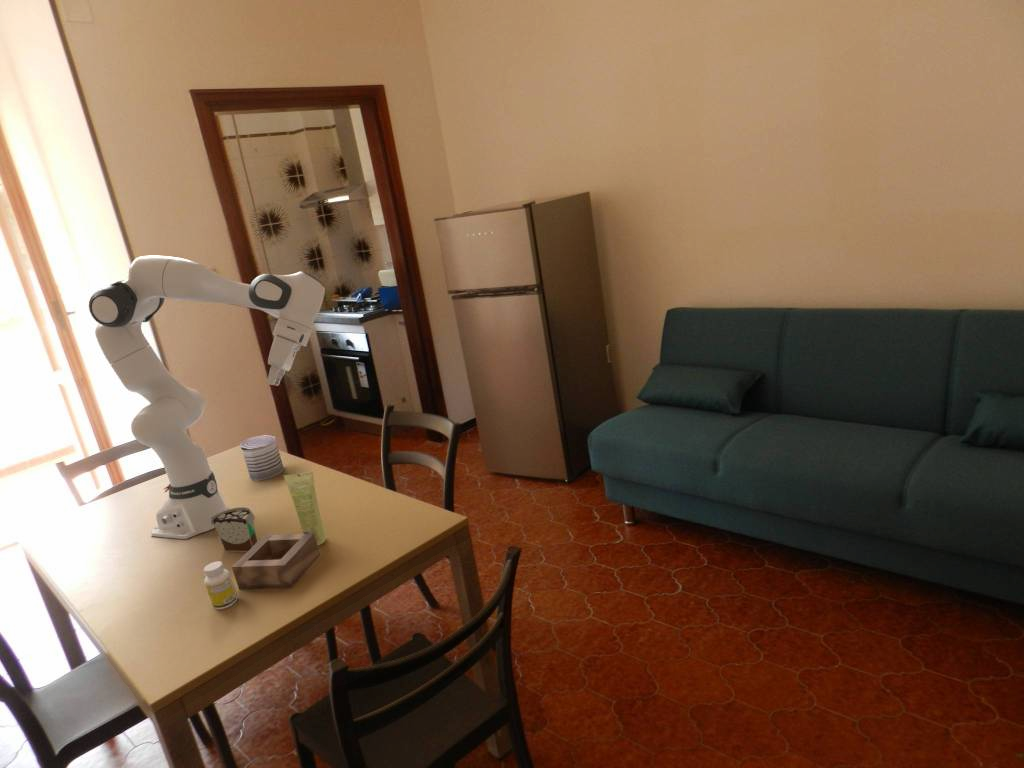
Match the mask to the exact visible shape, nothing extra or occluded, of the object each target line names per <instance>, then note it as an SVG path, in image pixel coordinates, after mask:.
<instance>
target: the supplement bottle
mask: <svg viewBox="0 0 1024 768" xmlns="http://www.w3.org/2000/svg"><path fill="white" fill-rule="evenodd" d="M203 572H204V574H205V577H204V579H203V580H204V585H205V588H206V590H207V594H208V595H209V599H210V602H211V604H212V607H213V608H214V610H224V609H227V608H230V607H231V606H233V605H234V604H235V603H237V601H238V597H239V596H238V594H237V591H236V588H235V586H234V585H235V584H234V582H233V580H232V577H231V573H230V571H229V570H228V569H225V567H224V564H223V562H222V561H219V560H218V561H213V562H211V563H208V564H207V565H206V566H204V568H203Z"/></svg>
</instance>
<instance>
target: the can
mask: <svg viewBox="0 0 1024 768" xmlns="http://www.w3.org/2000/svg"><path fill="white" fill-rule="evenodd" d="M277 443H278V442H277V440H276V436H275V435H267V434H263V435H258V436H257V435H256V436H253V437H250V438H247V439H245V440H243V441H241V442H240V443H239V448H240V449H241V450H240V451H241V453H242V456H243V460H244V463H245V465H246V469H247V472H248V475H249V479H250V480H251V481H258V482H259V481H263V480H268V479H271V478H274V477H276V476H278V475H280V474H281V473H282V472H284V470H285V468H284V464H283V460H282V458H281V454H280V450H279V447H278V444H277Z"/></svg>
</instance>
